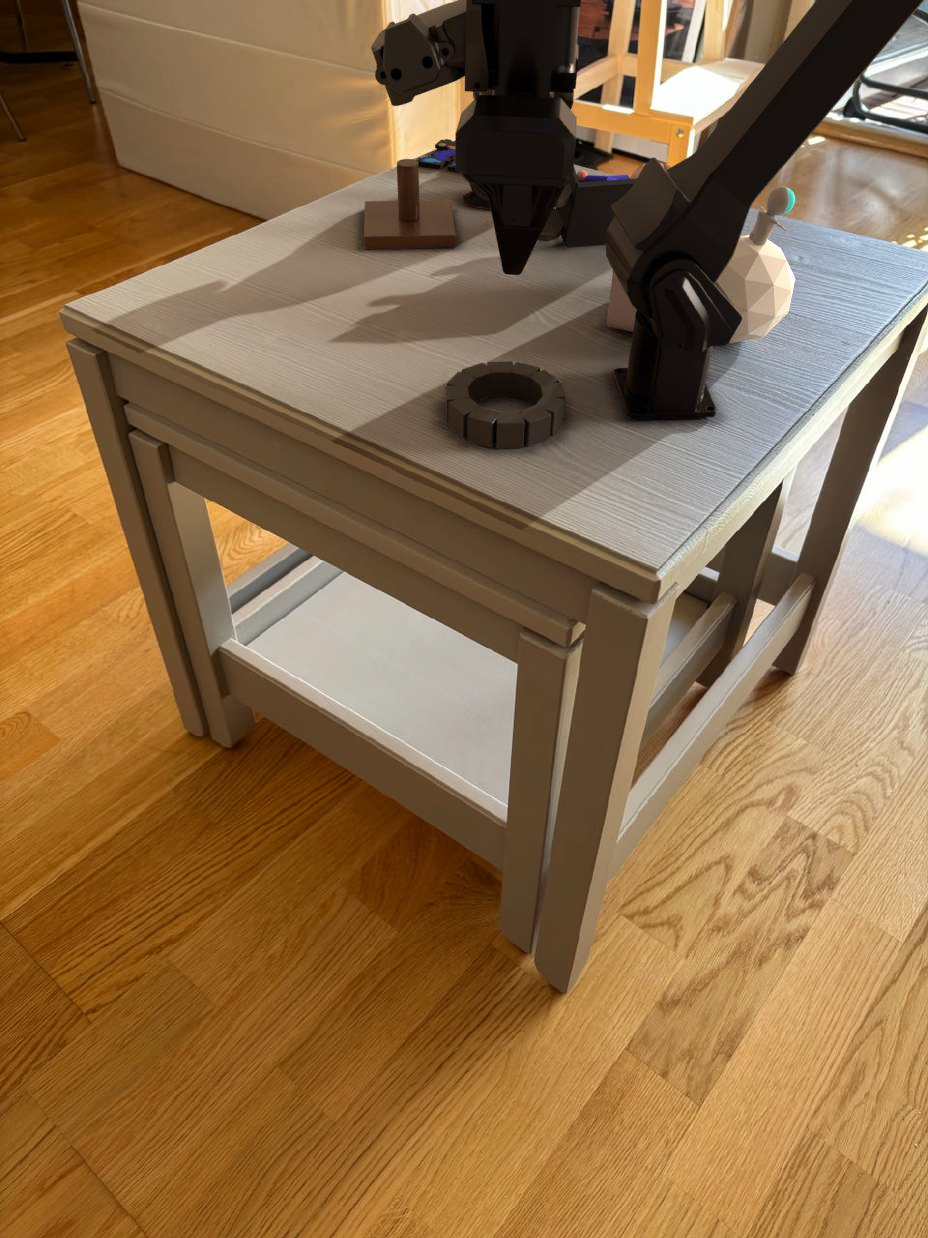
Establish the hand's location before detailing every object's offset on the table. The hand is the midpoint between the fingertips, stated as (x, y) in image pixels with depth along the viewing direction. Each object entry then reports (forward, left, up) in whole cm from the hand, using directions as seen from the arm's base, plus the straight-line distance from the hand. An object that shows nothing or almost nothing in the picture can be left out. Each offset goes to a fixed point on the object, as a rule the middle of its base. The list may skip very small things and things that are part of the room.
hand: (516, 242), depth 62 cm
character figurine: (+29, -12, -12) cm, 33 cm away
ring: (-1, 0, -12) cm, 12 cm away
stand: (+32, +6, -12) cm, 35 cm away
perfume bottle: (+9, -18, -12) cm, 24 cm away
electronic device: (+14, -13, -12) cm, 23 cm away
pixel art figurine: (+47, +3, -12) cm, 49 cm away
